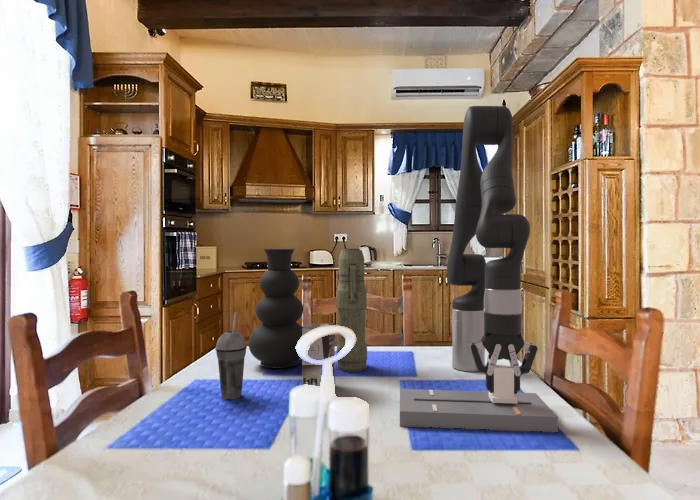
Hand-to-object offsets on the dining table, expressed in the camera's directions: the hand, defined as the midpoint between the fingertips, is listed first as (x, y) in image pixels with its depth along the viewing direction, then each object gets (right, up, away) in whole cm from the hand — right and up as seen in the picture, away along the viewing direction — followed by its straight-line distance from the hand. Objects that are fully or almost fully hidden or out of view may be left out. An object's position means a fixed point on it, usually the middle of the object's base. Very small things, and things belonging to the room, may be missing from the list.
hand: (502, 391), depth 94 cm
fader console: (-6, -5, +1) cm, 8 cm away
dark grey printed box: (-40, -5, +18) cm, 44 cm away
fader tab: (0, -2, 0) cm, 2 cm away
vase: (-53, -5, +42) cm, 68 cm away
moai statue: (-31, -5, +39) cm, 50 cm away
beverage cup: (-60, -6, +14) cm, 62 cm away
